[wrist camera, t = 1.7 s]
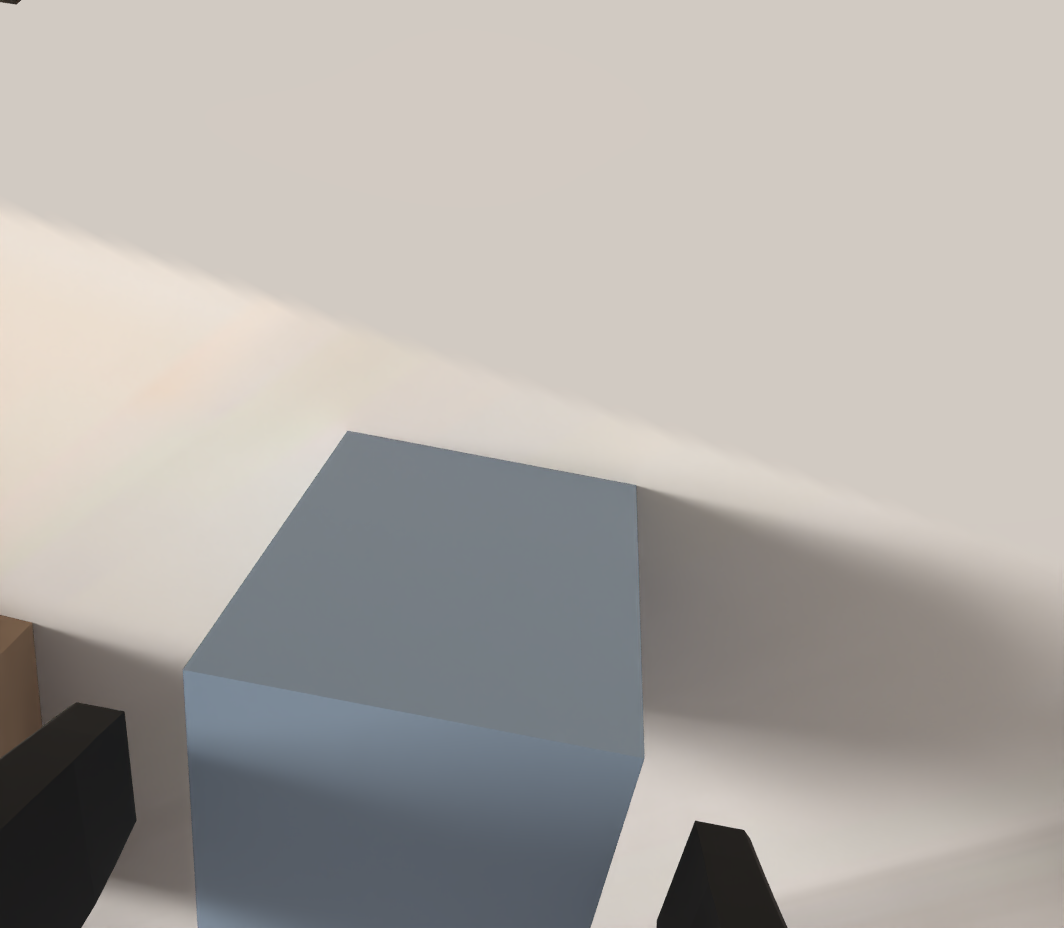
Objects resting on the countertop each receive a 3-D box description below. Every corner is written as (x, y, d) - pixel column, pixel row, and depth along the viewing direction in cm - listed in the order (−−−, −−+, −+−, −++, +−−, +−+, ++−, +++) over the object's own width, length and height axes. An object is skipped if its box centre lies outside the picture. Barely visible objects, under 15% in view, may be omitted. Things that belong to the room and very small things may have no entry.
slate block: (636, 483, 14) (644, 758, 9) (581, 698, 16) (561, 1016, 11) (348, 430, 14) (182, 669, 9) (335, 651, 16) (199, 945, 11)
